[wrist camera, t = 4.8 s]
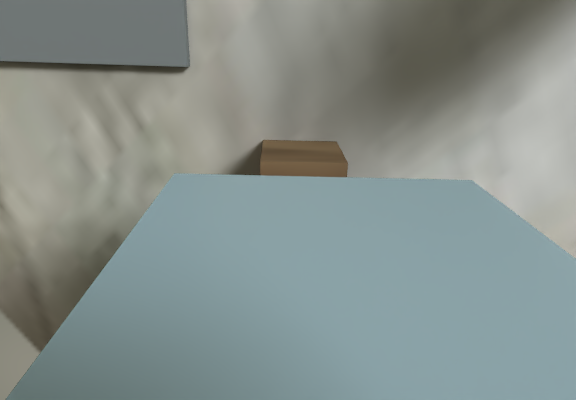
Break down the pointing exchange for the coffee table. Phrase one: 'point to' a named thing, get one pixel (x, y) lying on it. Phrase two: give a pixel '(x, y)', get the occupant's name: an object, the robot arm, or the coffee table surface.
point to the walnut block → (302, 159)
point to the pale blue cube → (320, 298)
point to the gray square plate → (95, 32)
